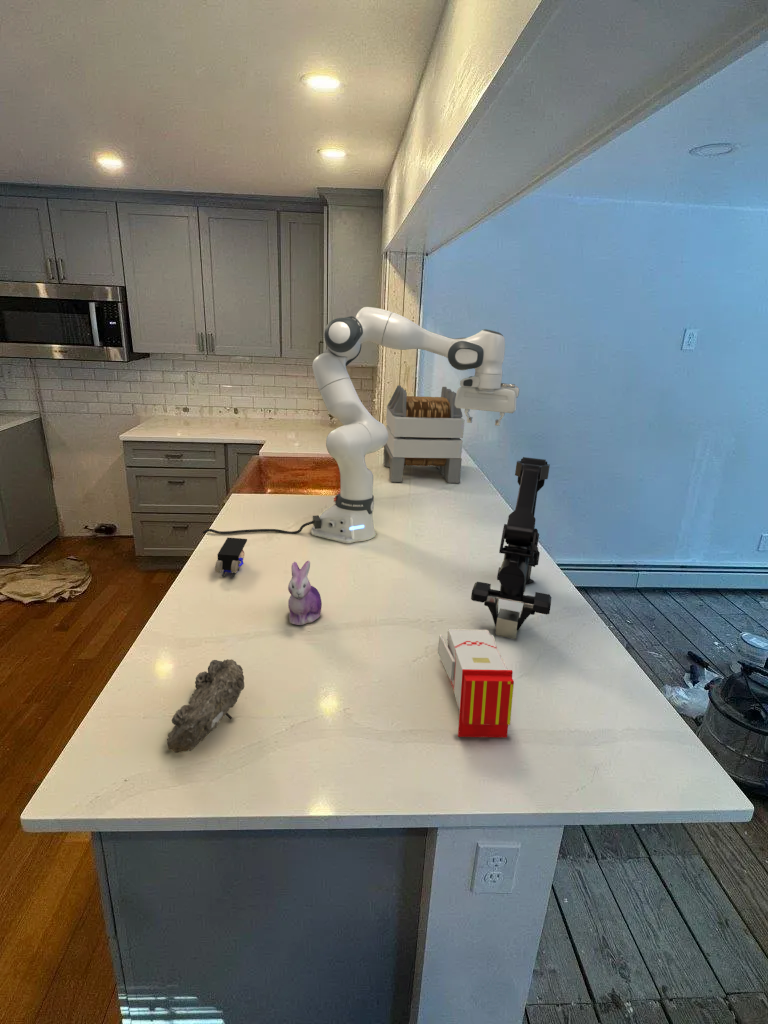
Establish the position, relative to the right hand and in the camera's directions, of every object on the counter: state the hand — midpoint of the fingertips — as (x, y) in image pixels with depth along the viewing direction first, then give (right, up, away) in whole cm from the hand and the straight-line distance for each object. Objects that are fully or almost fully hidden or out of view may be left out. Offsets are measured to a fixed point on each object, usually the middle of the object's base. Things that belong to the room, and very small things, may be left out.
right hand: (507, 627), depth 141 cm
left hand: (+3, +58, +49) cm, 76 cm away
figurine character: (-76, +12, +27) cm, 81 cm away
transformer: (-13, +48, +134) cm, 143 cm away
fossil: (-63, -10, -33) cm, 72 cm away
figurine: (-51, +2, +3) cm, 51 cm away
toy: (-13, -9, -22) cm, 27 cm away
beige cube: (0, -1, 0) cm, 1 cm away
